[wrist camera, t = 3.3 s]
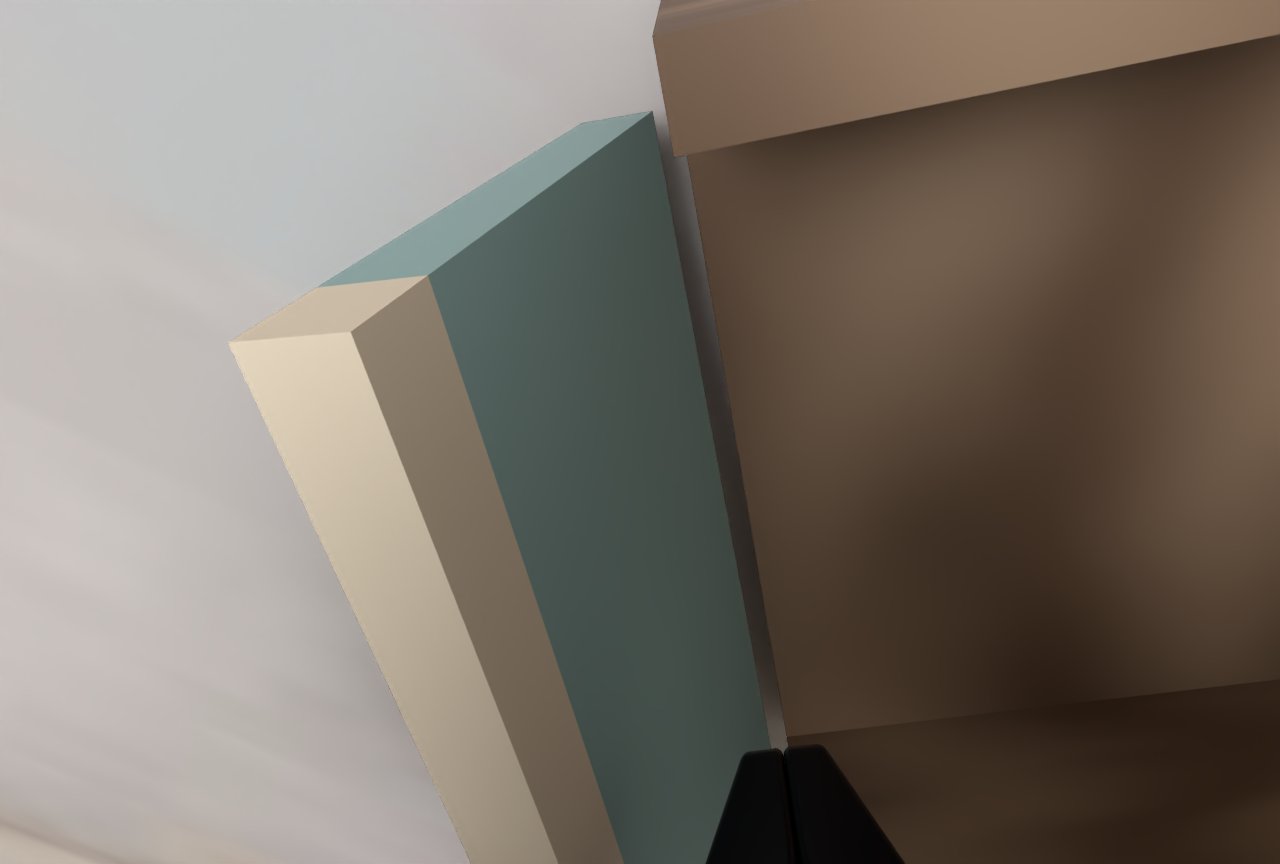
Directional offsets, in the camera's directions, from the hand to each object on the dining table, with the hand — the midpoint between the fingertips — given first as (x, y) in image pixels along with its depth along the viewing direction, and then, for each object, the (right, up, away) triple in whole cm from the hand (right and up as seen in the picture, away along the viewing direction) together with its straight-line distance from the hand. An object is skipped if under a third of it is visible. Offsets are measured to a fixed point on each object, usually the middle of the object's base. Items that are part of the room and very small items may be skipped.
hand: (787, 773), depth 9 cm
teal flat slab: (-1, +3, +5) cm, 6 cm away
